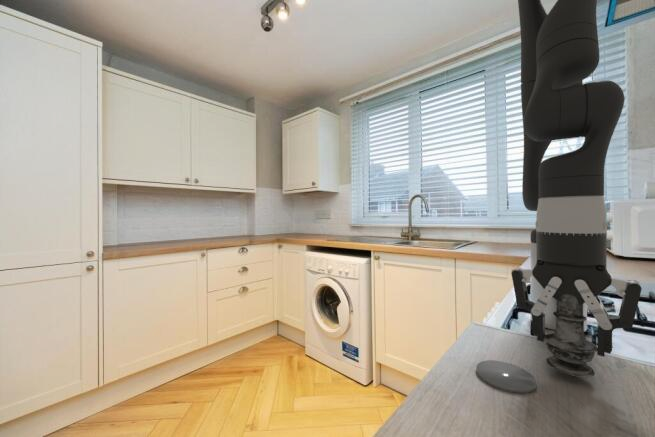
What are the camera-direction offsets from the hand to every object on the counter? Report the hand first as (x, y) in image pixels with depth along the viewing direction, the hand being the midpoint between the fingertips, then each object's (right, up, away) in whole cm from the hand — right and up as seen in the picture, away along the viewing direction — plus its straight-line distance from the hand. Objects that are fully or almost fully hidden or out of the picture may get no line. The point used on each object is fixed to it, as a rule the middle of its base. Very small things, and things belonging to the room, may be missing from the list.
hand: (569, 345), depth 40 cm
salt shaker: (0, -3, 0) cm, 3 cm away
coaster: (-9, -5, 0) cm, 10 cm away
